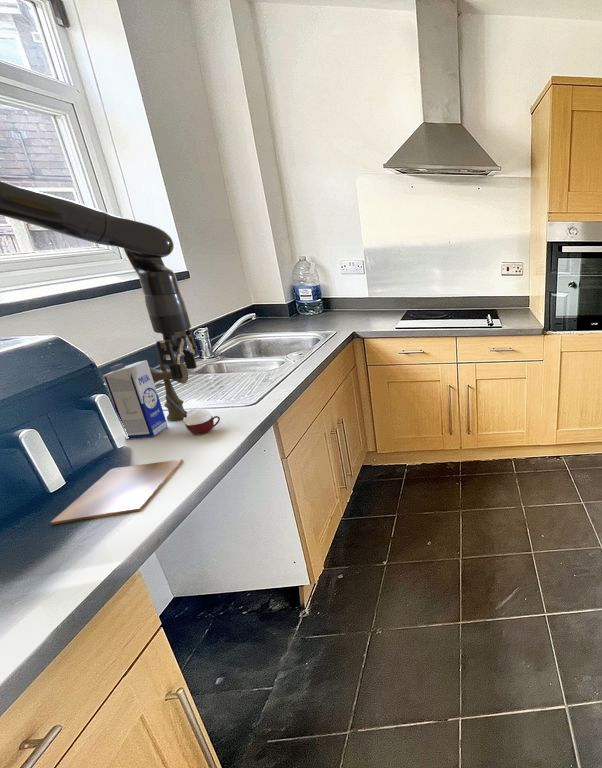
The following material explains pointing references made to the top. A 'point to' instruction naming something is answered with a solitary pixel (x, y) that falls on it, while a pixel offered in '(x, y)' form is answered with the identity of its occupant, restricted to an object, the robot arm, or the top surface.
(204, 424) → the cocoa
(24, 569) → the top surface
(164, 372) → the kendama
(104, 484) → the copper plate
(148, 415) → the milk carton
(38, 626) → the top surface
